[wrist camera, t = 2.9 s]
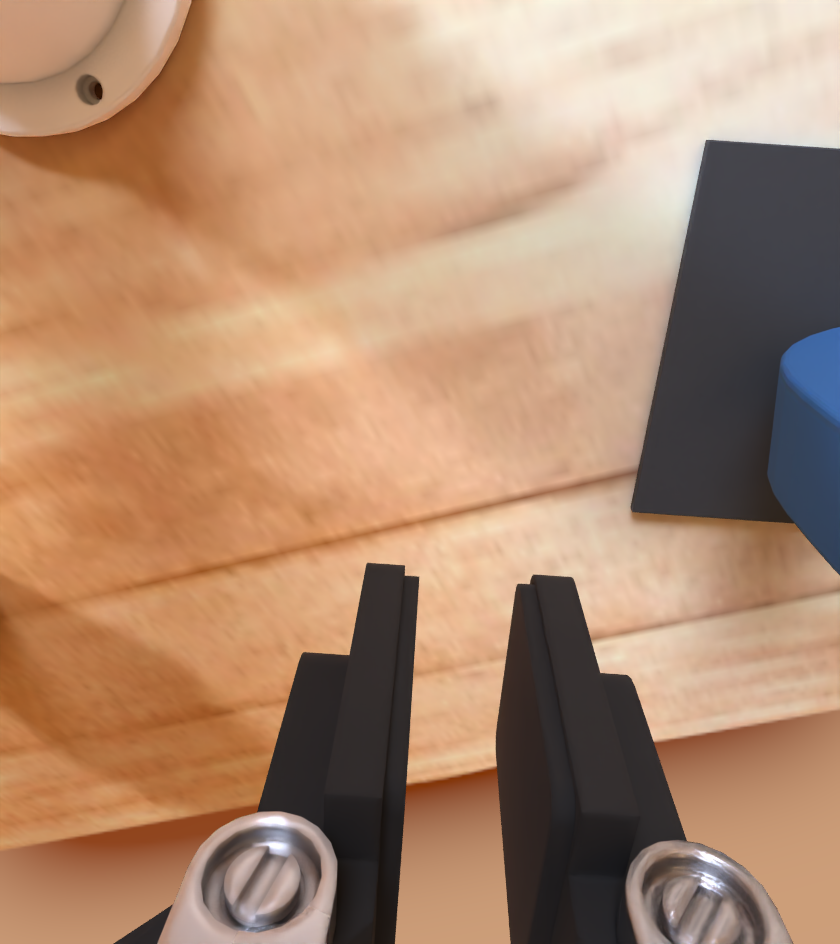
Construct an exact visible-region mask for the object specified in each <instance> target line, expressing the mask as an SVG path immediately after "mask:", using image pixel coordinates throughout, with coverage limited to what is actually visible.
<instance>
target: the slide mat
mask: <svg viewBox="0 0 840 944" xmlns="http://www.w3.org/2000/svg"><path fill="white" fill-rule="evenodd" d="M838 327H840V149H834V148H819V147H804V146H790V145H775V144H760V143H745V142H730V141H716V140H706V143H705V148H704V153H703V157H702V162H701V167H700V172H699V177H698V182H697V187H696V191H695V196H694V201H693V206H692V211H691V216H690V221H689V226H688V230H687V235H686V240H685V245H684V250H683V255H682V260H681V265H680V269H679V274H678V279H677V284H676V289H675V294H674V299H673V304H672V308H671V313H670V318H669V323H668V328H667V333H666V338H665V343H664V347H663V352H662V357H661V362H660V367H659V372H658V377H657V382H656V386H655V391H654V396H653V401H652V406H651V411H650V416H649V421H648V425H647V430H646V435H645V440H644V445H643V450H642V455H641V460H640V464H639V469H638V474H637V479H636V484H635V489H634V494H633V499H632V503H631V510H632V512H639V513H653V514H667V515H682V516H696V517H710V518H725V519H739V520H753V521H768V522H782V523H794V522H793V521H792V519H791V518H790V517H789V516H788V515H787V513H786V512H785V510H784V509H783V507H782V506H781V504H780V503H779V501H778V500H777V498H776V497H775V495H774V493H773V491H772V488H771V485H770V482H769V479H768V475H767V471H768V463H769V454H770V446H771V437H772V429H773V420H774V411H775V403H776V394H777V386H778V377H779V369H780V361H781V357H782V355H783V354H784V353H785V352H786V351H787V350H788V349H789V348H790V347H791V346H792V345H793V344H795V343H797V342H799V341H801V340H802V339H804V338H806V337H808V336H810V335H813V334H817V333H820V332H823V331H826V330H830V329H833V328H838Z"/></svg>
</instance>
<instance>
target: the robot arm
mask: <svg viewBox="0 0 840 944" xmlns="http://www.w3.org/2000/svg"><path fill="white" fill-rule="evenodd" d="M191 2H192V0H0V134H2V135H8V136H14V137H44V136H51V135H57V134H64V133H71V132H77V131H80V130H82V129H85V128H87V127H90V126H92V125H95V124H97V123H100V122H102V121H105V120H108V119H109V118H111V117H112V116H114V115H115V114H116V113H118V112H119V111H121V110H122V109H124V108H125V107H126V106H128V105H129V104H131V103H132V102H134V101H135V100H136V99H137V98H138V97H139V96H140V95H141V94H142V93H143V91H144V90H145V89H146V88H147V87H148V86H149V85H150V84H151V83H152V81H153V80H154V79H155V78H156V77H157V76H158V75H159V74H160V72H161V70H162V69H163V67H164V65H165V63H166V62H167V60H168V58H169V56H170V55H171V53H172V51H173V49H174V48H175V46H176V44H177V42H178V41H179V38H180V35H181V32H182V29H183V26H184V23H185V20H186V17H187V14H188V11H189V8H190V5H191ZM97 83H100V84H101V86H102V89H103V95H102V99H99V98H98V97H97V96H96V95H95V92H94V88H95V85H96V84H97ZM404 575H405V566H404V565H390V564H376V563H367V565H366V569H365V575H364V580H363V585H362V591H361V596H360V602H359V607H358V612H357V618H356V623H355V629H354V634H353V639H352V645H351V650H350V655H336V654H322V653H307V652H303V654H302V655H301V658H300V660H299V663H298V667H297V671H296V674H295V678H294V681H293V685H292V689H291V692H290V696H289V699H288V703H287V707H286V710H285V714H284V717H283V721H282V725H281V728H280V732H279V735H278V739H277V743H276V746H275V750H274V753H273V757H272V761H271V764H270V768H269V771H268V775H267V779H266V782H265V786H264V789H263V793H262V797H261V800H260V804H259V807H258V811H257V813H254V814H250V815H246V816H243V817H239V818H237V819H235V820H233V821H231V822H229V823H228V824H226V825H224V826H222V827H221V828H219V829H217V830H216V831H215V832H214V833H213V834H212V835H211V836H210V837H209V838H208V839H207V840H206V841H205V842H204V843H203V844H202V845H201V846H200V847H199V849H198V850H197V852H196V854H195V856H194V857H193V859H192V861H191V862H190V864H189V866H188V868H187V871H186V874H185V876H184V878H183V881H182V883H181V886H180V888H179V891H178V894H177V896H176V898H175V901H174V903H173V905H171V906H170V907H168V908H167V909H165V910H164V911H162V912H161V913H159V914H158V915H156V916H155V917H154V918H152V919H150V920H149V921H148V922H146V923H144V924H143V925H141V926H140V927H138V928H137V929H135V930H134V931H132V932H131V933H129V934H128V935H126V936H125V937H123V938H122V939H120V940H118V941H117V942H115V943H114V944H395V932H396V920H397V906H398V892H399V878H400V865H401V851H402V838H403V837H402V836H403V824H404V810H405V794H406V781H407V765H408V749H409V733H410V717H411V701H412V684H413V668H414V652H415V636H416V620H417V604H418V588H419V577H415V576H404ZM496 761H497V773H498V786H499V800H500V812H501V825H502V837H503V851H504V864H505V876H506V889H507V902H508V914H509V928H510V940H511V944H793V942H792V940H791V938H790V936H789V933H788V931H787V929H786V927H785V925H784V923H783V920H782V918H781V916H780V914H779V912H778V910H777V908H776V906H775V905H774V903H773V901H772V900H771V898H770V897H769V895H768V893H767V892H766V890H765V889H764V887H763V886H762V885H761V884H760V883H759V882H758V881H757V880H756V879H755V878H754V877H753V876H752V875H751V874H750V872H749V871H747V870H746V868H744V867H743V866H742V865H740V864H739V863H737V862H736V861H734V860H733V859H731V858H730V857H728V856H727V855H725V854H724V853H722V852H719V851H717V850H715V849H712V848H710V847H707V846H705V845H703V844H700V843H694V842H688V841H687V840H686V837H685V834H684V831H683V828H682V825H681V822H680V819H679V817H678V813H677V810H676V807H675V804H674V802H673V799H672V796H671V793H670V790H669V787H668V784H667V781H666V778H665V775H664V772H663V769H662V766H661V763H660V760H659V757H658V754H657V751H656V748H655V745H654V742H653V739H652V736H651V733H650V730H649V727H648V724H647V721H646V718H645V715H644V712H643V709H642V706H641V703H640V700H639V697H638V694H637V691H636V688H635V686H634V684H633V682H632V679H631V678H630V677H629V676H627V675H619V674H605V673H600V671H599V667H598V663H597V660H596V656H595V653H594V649H593V646H592V642H591V639H590V635H589V631H588V628H587V624H586V621H585V617H584V614H583V610H582V607H581V603H580V599H579V596H578V592H577V589H576V585H575V582H574V579H573V578H572V577H561V576H547V575H533V576H532V578H531V581H530V584H518V585H517V587H516V592H515V599H514V606H513V613H512V620H511V628H510V635H509V642H508V649H507V657H506V664H505V671H504V678H503V686H502V693H501V700H500V707H499V714H498V722H497V730H496Z"/></svg>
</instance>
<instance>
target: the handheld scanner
mask: <svg viewBox="0 0 840 944" xmlns="http://www.w3.org/2000/svg"><path fill="white" fill-rule="evenodd" d="M767 475H768V479H769V482H770V485H771V488H772V491H773V493H774V495H775V497H776V498H777V500H778V501H779V503H780V504H781V506H782V507H783V509H784V510H785V512H786V513H787V515H788V516H789V517H790V518H791V519H792V521H793V522H794V523H795V524H796V526H797V527H798V528H799V529H800V530H801V532H802V533H803V534H804V535H805V536H806V538H807V539H808V540H809V541H810V542H811V544H812V545H813V546H814V547H815V548H816V549H817V550H818V552H819V553H820V554H821V555H822V556H823V557H824V558H825V560H826V561H827V562H828V563H829V564H830V565H831V566H832V568H833V569H834V570H835V571H836V572H837V573H838V574H839V575H840V327H838V328H833V329H830V330H826V331H823V332H820V333H817V334H813V335H810V336H808V337H806V338H804V339H802V340H801V341H799V342H797V343H795V344H793V345H792V346H791V347H790V348H789V349H788V350H787V351H786V352H785V353H784V354H783V355H782V357H781V361H780V369H779V377H778V386H777V394H776V403H775V411H774V420H773V429H772V437H771V446H770V454H769V463H768V471H767Z"/></svg>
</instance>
